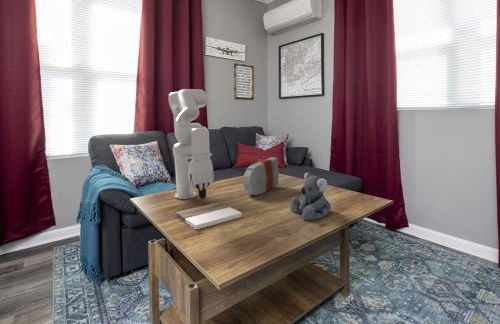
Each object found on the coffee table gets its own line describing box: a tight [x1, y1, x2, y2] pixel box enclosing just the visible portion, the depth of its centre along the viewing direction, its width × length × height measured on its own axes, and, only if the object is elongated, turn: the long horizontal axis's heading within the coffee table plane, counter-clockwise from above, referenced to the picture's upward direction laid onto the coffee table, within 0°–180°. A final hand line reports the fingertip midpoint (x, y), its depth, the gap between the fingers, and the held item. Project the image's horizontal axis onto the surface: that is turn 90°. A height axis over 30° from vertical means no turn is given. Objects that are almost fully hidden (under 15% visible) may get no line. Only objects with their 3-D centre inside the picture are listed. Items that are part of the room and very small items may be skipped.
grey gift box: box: [242, 156, 279, 196], centre depth 175 cm, size 19×6×30 cm
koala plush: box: [289, 171, 332, 221], centre depth 138 cm, size 17×18×20 cm
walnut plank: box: [175, 201, 229, 223], centre depth 141 cm, size 10×24×2 cm, turn 128°
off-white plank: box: [184, 206, 243, 230], centre depth 133 cm, size 10×24×2 cm, turn 128°
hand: (202, 198), depth 127 cm, fingers closed
